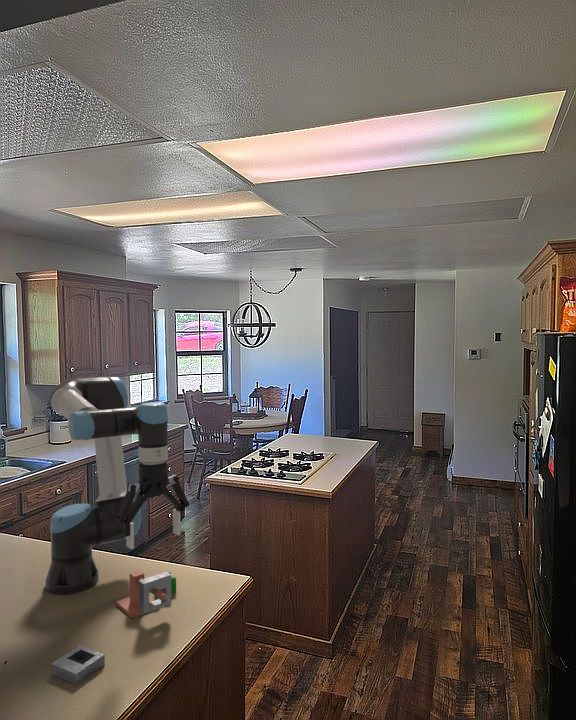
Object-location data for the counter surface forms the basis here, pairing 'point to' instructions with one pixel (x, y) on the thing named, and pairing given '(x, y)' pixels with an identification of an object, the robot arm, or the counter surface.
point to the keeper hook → (136, 596)
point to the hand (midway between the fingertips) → (154, 540)
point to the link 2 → (153, 585)
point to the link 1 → (77, 664)
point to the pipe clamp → (173, 586)
